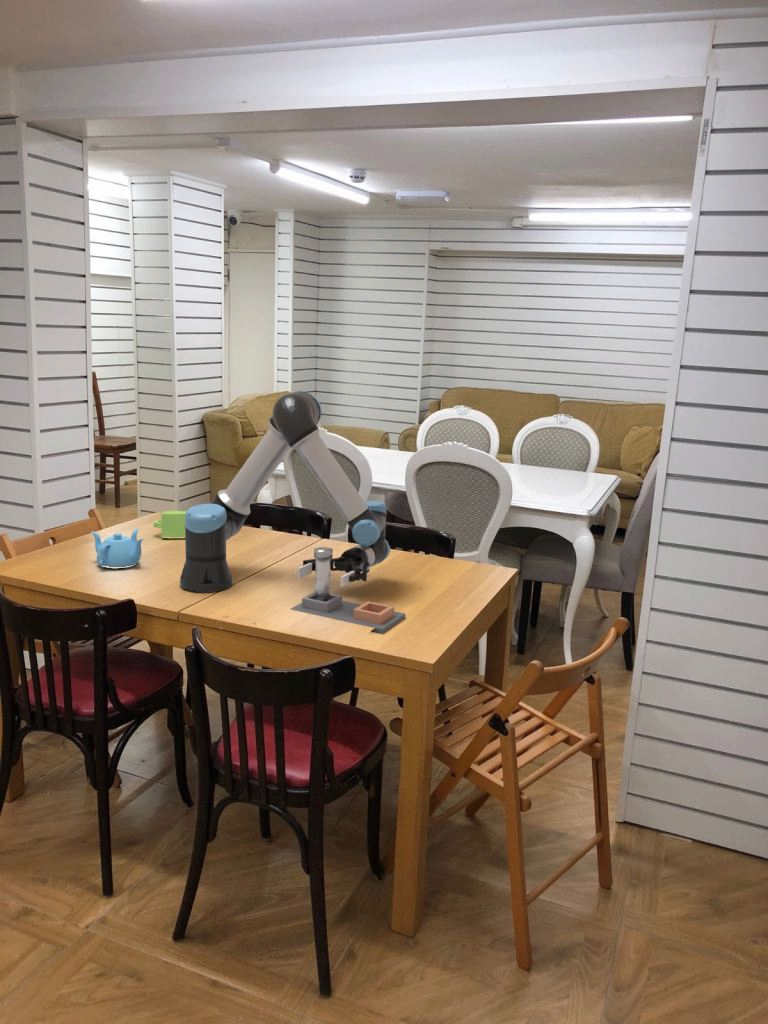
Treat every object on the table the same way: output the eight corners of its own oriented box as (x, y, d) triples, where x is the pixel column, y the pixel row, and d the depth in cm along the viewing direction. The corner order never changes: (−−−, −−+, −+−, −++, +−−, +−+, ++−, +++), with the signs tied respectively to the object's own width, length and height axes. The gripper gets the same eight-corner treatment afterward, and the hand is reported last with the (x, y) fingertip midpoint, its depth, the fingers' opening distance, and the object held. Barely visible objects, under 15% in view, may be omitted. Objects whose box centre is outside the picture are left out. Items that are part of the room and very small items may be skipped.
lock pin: (309, 606, 212) (310, 550, 209) (318, 601, 217) (320, 546, 213) (325, 610, 210) (326, 552, 207) (334, 605, 214) (336, 548, 211)
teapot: (95, 573, 238) (94, 541, 236) (91, 560, 251) (90, 529, 249) (145, 569, 244) (144, 537, 242) (139, 556, 257) (138, 526, 255)
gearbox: (204, 534, 292) (204, 509, 290) (204, 539, 283) (205, 513, 281) (154, 534, 288) (154, 508, 286) (153, 539, 278) (153, 513, 277)
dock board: (289, 613, 210) (289, 600, 209) (316, 599, 222) (316, 586, 222) (381, 633, 198) (382, 620, 197) (405, 617, 210) (405, 604, 209)
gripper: (394, 578, 224) (360, 599, 205) (320, 565, 234) (280, 582, 216) (396, 553, 222) (360, 571, 203) (320, 540, 233) (281, 556, 214)
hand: (319, 577), depth 210 cm, fingers open, 13 cm apart
